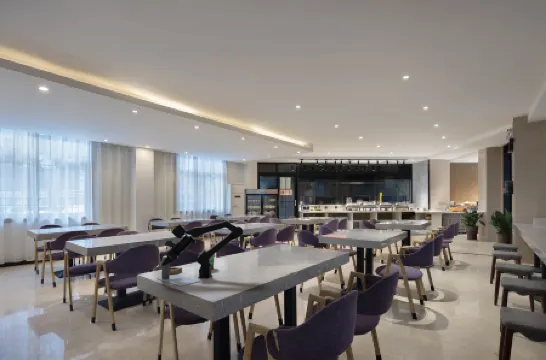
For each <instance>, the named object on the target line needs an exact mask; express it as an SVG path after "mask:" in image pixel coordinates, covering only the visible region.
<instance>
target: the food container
mask: <svg viewBox="0 0 546 360" xmlns="http://www.w3.org/2000/svg"><path fill="white" fill-rule="evenodd" d="M215 258H216V253H215V254H214V255H213V256H212V257H211V258H210V259H209V260H210V261H211V265H210V266H212V270H214V267H215Z"/></svg>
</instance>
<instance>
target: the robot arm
mask: <svg viewBox="0 0 546 360" xmlns="http://www.w3.org/2000/svg"><path fill="white" fill-rule="evenodd" d="M222 229H223V230H224V229H227V230H228V231H230V232H229V233H228V234H227V236H225V237H224V238H222V239H221V240H220V241H218V242H217V243H216V244H215V245H213V246H212V247H210V248H209V249H207V250H206V249H204V250H202V251H201V252H199V254H198V255H197V260H196V262H197V264H199V265H200V266H199V269H198V278H199V279H210V278H211V277H213V274H212V271H213V269H212V266H210V265H211V261H210V260H209V259H210V258H211V257H212V256H213V255H214V254H215V255H216V253H217V252H219V251H220V250H222V249H223V248H224V247H225V246H226V245H228V244H229V243H230V242H232V241H234V240H237V239H238V238H239V237H242V236H243V234H244V230H243V228H242V227H241V226H236V225H234V224H232V223H230V222H229V221H228V220H224V221H221V222H218V223H217V222H216V223H214V224H213V223H212V224H211V225H205V226H195V227H192V228H191V229H185V228H184V227H183V225H182V224H178V225H177V226H176V227H175V228H174V229H173V230H171V232H170V233H171V234H172V235H173V236H175V238H177V239H180V240H179V241H177V242H176V241H174V240H171V239H166V241H165V243H164V246H165V247H168V248H170V249H169V250H168V252H167V253H166V256H167V258H166V259H165V261H164V262H163V263H162V262H161V267H162V266H164V265H167V264H169V263H170V264H171V263H173V262H176V260H178V258H179V256H180V255H181V254H182V253H183V252H184V251H186V249H187V248H189V246H190V245H191V244H192V243H193V244H194V245H196V241H197V238H198V237H201V236H203V235H205V234H207V233H210V232H214V231H219V230H222Z"/></svg>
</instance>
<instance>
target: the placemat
mask: <svg viewBox="0 0 546 360" xmlns="http://www.w3.org/2000/svg"><path fill="white" fill-rule="evenodd" d="M157 280H159V281H162V282H166V283H169V284H172V285H174V286H179V287H183V286H187V285H192V284H196V283H200V282H201V280H197V279H195V278H191V277H187V276H183V275H180V274H171V275H170V278H169V279H162V276H161V277H158V278H157Z"/></svg>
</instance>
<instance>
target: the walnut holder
mask: <svg viewBox="0 0 546 360" xmlns="http://www.w3.org/2000/svg"><path fill="white" fill-rule="evenodd" d="M181 272H183V267H180V266H178V267H177V266H175V267H174V266H170V275H179V274H180V273H181Z"/></svg>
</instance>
